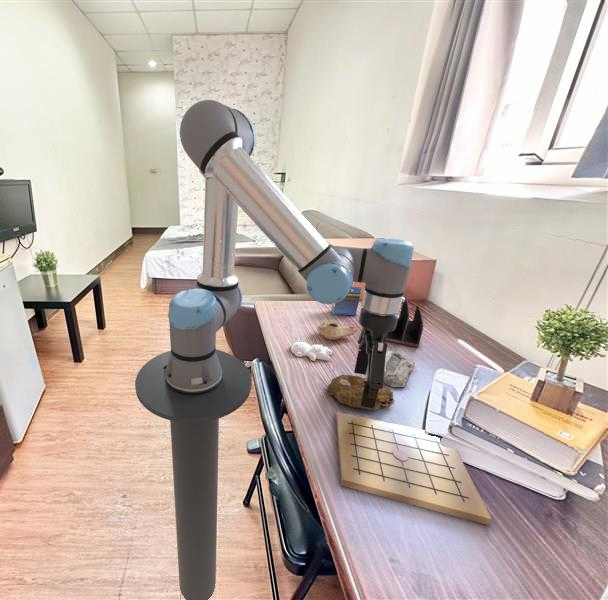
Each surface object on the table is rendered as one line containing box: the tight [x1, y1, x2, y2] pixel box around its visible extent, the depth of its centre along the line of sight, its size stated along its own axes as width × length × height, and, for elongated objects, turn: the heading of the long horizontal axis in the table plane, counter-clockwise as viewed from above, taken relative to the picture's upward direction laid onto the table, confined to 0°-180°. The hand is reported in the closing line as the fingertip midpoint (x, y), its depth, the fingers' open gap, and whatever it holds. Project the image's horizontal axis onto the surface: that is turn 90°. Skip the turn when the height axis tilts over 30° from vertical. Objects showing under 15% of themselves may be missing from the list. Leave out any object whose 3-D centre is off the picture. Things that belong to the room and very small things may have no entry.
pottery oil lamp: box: [317, 321, 357, 341], centre depth 105 cm, size 9×12×7 cm
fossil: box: [383, 349, 416, 388], centre depth 88 cm, size 18×10×3 cm, turn 139°
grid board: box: [335, 411, 493, 526], centre depth 60 cm, size 22×18×2 cm
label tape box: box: [330, 286, 362, 316], centre depth 123 cm, size 9×4×12 cm, turn 83°
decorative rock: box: [327, 374, 395, 411], centre depth 77 cm, size 11×4×15 cm
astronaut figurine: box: [290, 341, 333, 362], centre depth 97 cm, size 9×12×3 cm
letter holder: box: [384, 296, 424, 348], centre depth 108 cm, size 10×20×14 cm, turn 152°
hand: (363, 388), depth 77 cm, fingers open, 13 cm apart
